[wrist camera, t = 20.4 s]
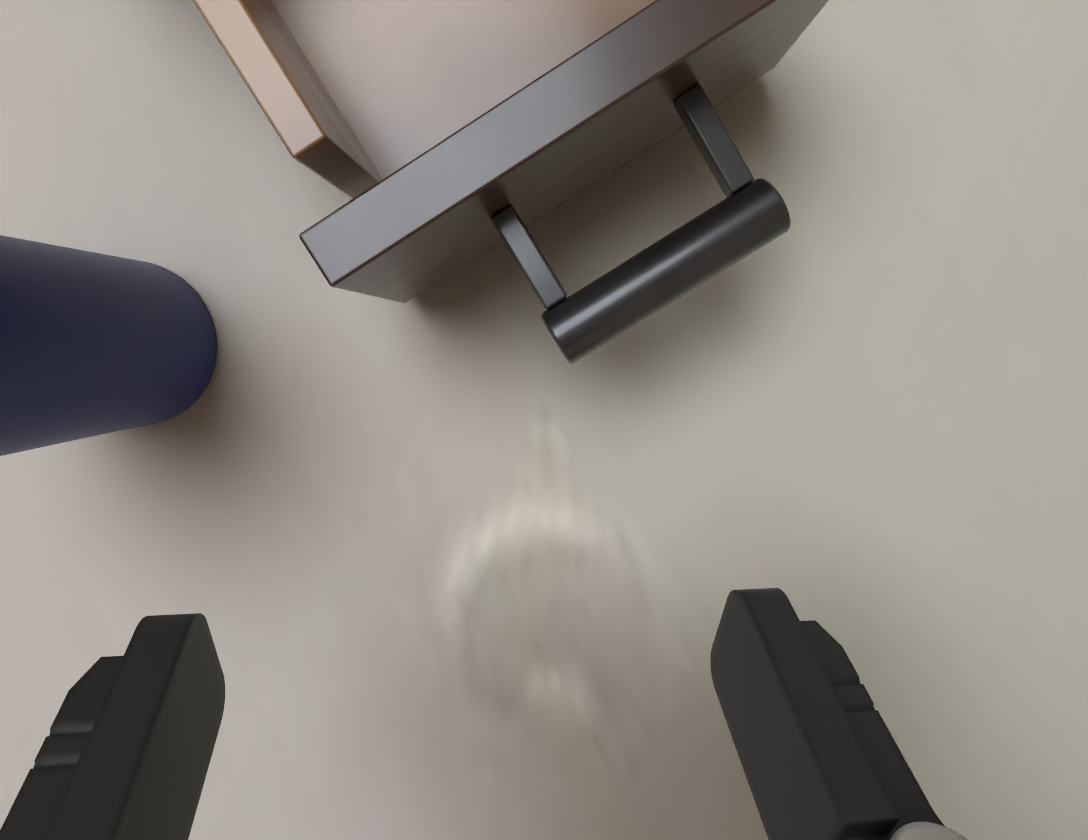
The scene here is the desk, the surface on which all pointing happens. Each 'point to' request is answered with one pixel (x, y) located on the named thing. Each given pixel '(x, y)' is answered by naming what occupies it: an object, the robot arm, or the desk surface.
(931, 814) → the robot arm
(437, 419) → the desk surface
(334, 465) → the desk surface
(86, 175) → the desk surface
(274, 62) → the drawer
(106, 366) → the bottle
